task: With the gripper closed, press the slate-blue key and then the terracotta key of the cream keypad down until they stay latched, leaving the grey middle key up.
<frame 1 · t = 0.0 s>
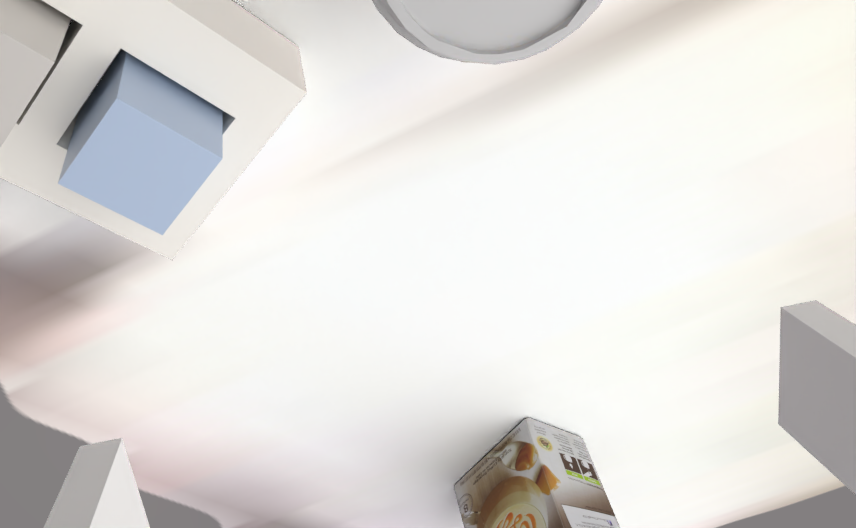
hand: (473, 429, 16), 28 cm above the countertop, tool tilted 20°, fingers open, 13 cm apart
key blue: (146, 134, 35), point 5 cm above the countertop, slide at 0.0 cm
coffee box: (516, 459, 64), on the countertop
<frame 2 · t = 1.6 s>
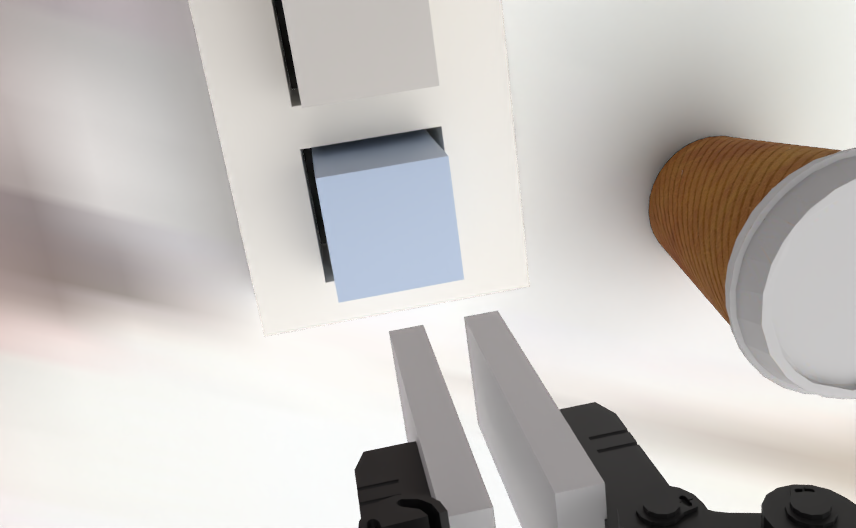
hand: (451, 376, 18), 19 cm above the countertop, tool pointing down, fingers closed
keypad base: (343, 13, 34), on the countertop
key grey: (353, 20, 29), point 5 cm above the countertop, slide at 0.0 cm
key blue: (383, 208, 31), point 5 cm above the countertop, slide at 0.0 cm
disposable coffee cup: (708, 199, 39), on the countertop
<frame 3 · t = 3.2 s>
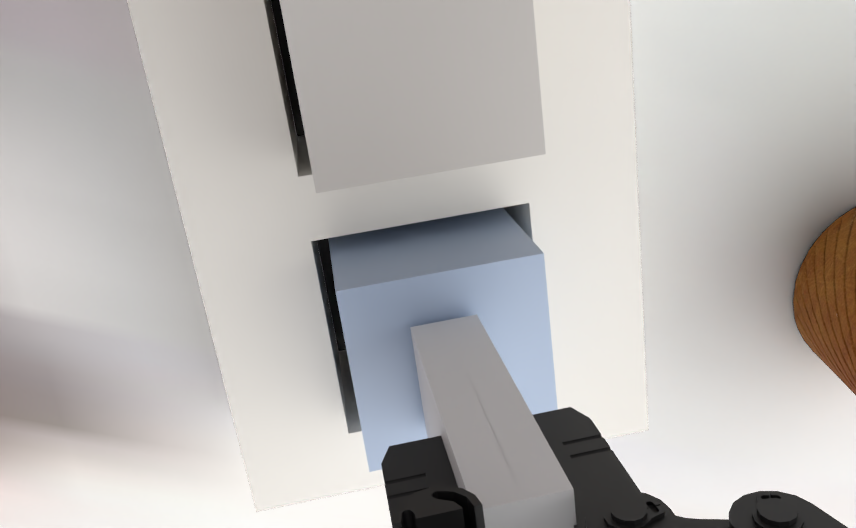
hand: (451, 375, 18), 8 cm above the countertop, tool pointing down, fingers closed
keypad base: (374, 26, 23), on the countertop
key grey: (397, 41, 18), point 5 cm above the countertop, slide at 0.0 cm
key blue: (432, 314, 21), point 4 cm above the countertop, slide at 0.8 cm, touching gripper
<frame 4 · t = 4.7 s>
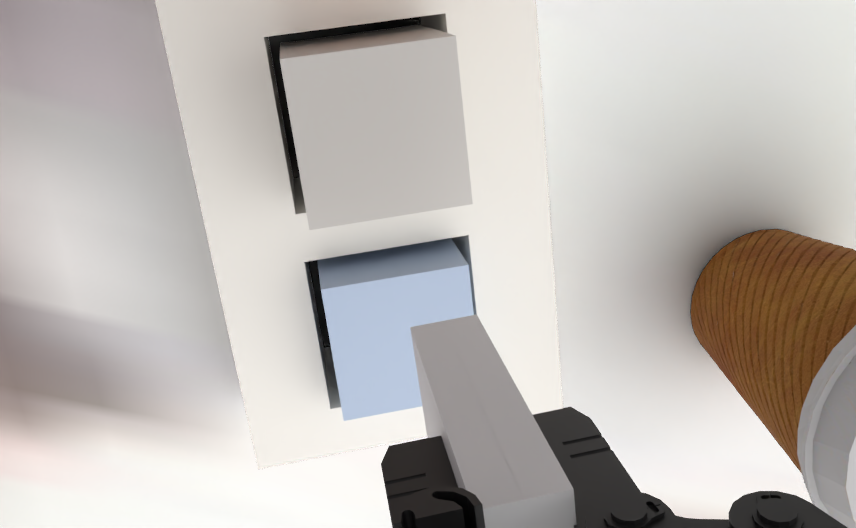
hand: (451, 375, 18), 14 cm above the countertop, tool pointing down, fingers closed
keypad base: (355, 95, 30), on the countertop
key grey: (369, 117, 25), point 5 cm above the countertop, slide at 0.0 cm
key blue: (392, 308, 29), point 4 cm above the countertop, slide at 1.6 cm
disposable coffee cup: (755, 296, 35), on the countertop
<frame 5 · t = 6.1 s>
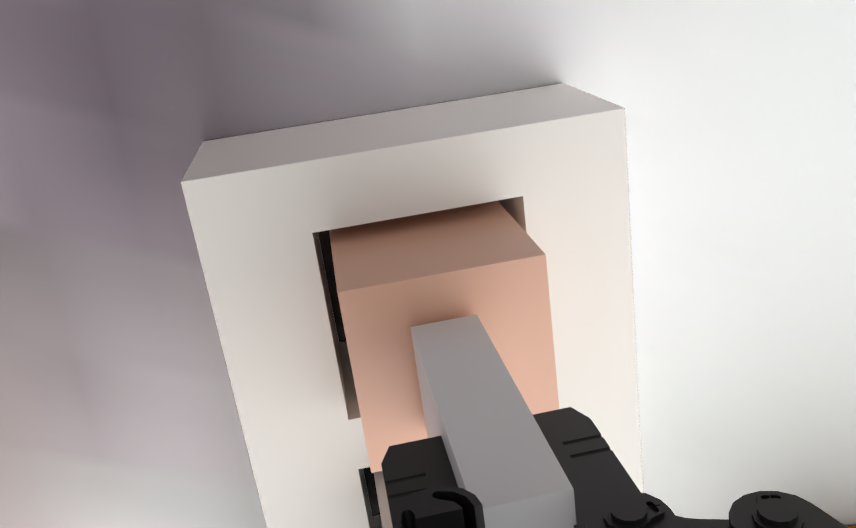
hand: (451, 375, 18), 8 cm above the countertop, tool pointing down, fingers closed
keypad base: (436, 437, 29), on the countertop
key terracotta: (434, 315, 21), point 5 cm above the countertop, slide at 0.1 cm, touching gripper
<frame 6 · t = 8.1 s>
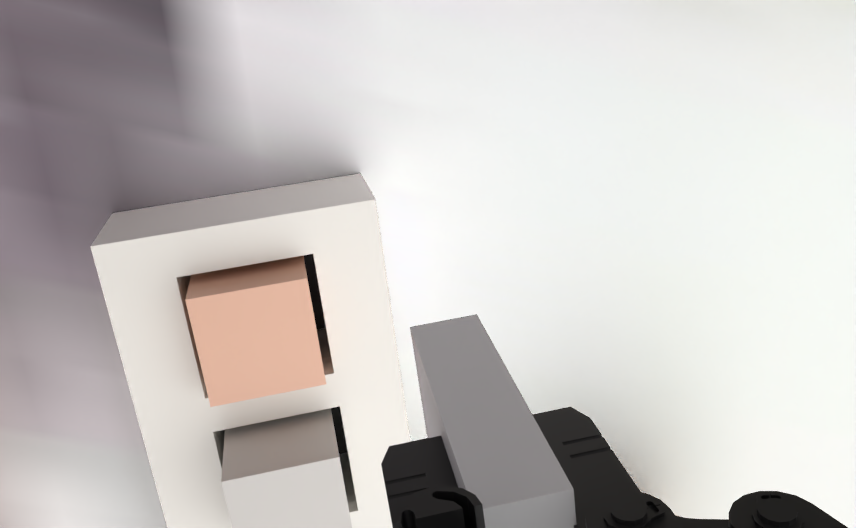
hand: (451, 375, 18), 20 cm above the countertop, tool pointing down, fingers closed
keypad base: (284, 417, 40), on the countertop
key grey: (288, 476, 35), point 5 cm above the countertop, slide at 0.0 cm
key terracotta: (258, 314, 34), point 4 cm above the countertop, slide at 1.7 cm
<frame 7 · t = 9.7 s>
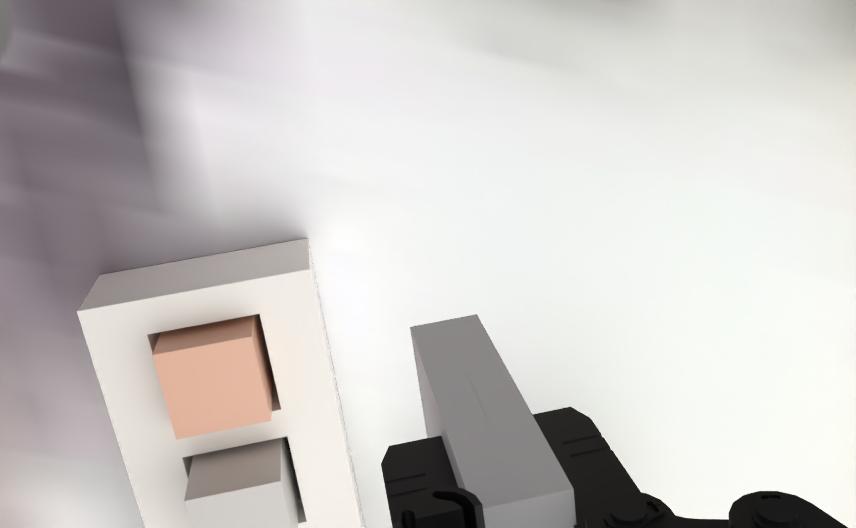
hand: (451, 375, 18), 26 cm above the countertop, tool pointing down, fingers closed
keypad base: (250, 439, 47), on the countertop
key grey: (245, 493, 42), point 5 cm above the countertop, slide at 0.0 cm
key terracotta: (218, 361, 42), point 4 cm above the countertop, slide at 1.7 cm
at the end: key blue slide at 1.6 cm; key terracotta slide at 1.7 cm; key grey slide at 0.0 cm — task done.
